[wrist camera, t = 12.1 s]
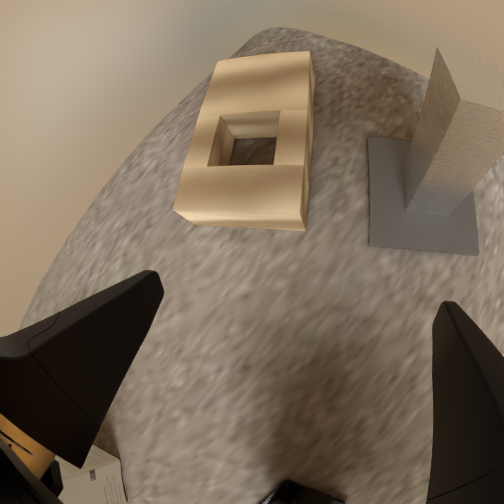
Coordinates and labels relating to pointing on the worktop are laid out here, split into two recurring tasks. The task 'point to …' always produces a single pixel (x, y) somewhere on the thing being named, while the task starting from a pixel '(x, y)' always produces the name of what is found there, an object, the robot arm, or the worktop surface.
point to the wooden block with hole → (252, 126)
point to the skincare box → (92, 480)
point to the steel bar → (455, 132)
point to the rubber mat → (408, 222)
